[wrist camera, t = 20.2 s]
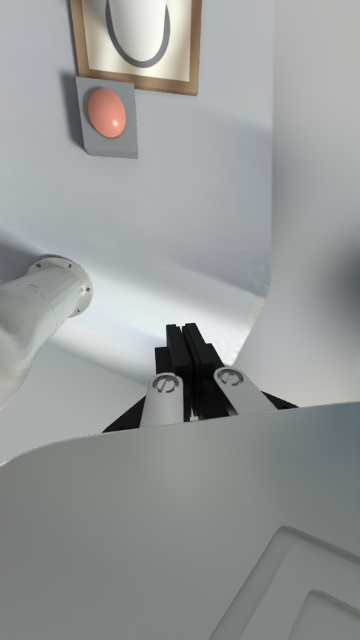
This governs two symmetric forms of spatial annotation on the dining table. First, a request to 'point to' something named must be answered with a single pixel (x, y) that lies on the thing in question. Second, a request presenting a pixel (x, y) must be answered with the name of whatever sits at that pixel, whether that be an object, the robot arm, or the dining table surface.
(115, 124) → the button
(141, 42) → the cylindrical container
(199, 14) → the sketch board
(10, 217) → the dining table surface
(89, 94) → the button housing
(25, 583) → the robot arm
